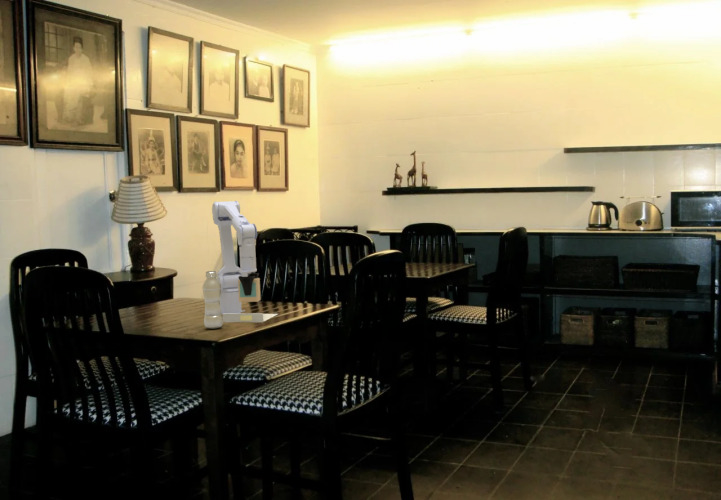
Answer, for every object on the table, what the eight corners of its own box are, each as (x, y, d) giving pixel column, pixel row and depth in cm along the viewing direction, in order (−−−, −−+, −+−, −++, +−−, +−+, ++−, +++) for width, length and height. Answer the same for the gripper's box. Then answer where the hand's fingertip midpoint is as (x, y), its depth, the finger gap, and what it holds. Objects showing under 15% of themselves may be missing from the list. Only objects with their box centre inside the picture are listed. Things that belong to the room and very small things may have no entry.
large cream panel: (222, 323, 265) (222, 313, 265) (241, 315, 283) (241, 306, 282) (262, 323, 262) (261, 313, 262) (278, 315, 280) (278, 306, 279)
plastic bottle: (214, 326, 260) (212, 270, 259) (227, 327, 256) (224, 271, 255) (200, 329, 255) (197, 272, 254) (212, 330, 251) (209, 272, 250)
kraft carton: (241, 300, 271) (240, 278, 270) (260, 299, 271) (259, 278, 270) (238, 302, 266) (237, 280, 265) (258, 301, 265) (257, 279, 265)
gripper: (241, 255, 274) (242, 291, 275) (232, 259, 260) (234, 297, 261) (259, 255, 274) (261, 291, 275) (252, 258, 260) (254, 296, 261)
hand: (249, 294), depth 268 cm, fingers closed on kraft carton, 5 cm apart
